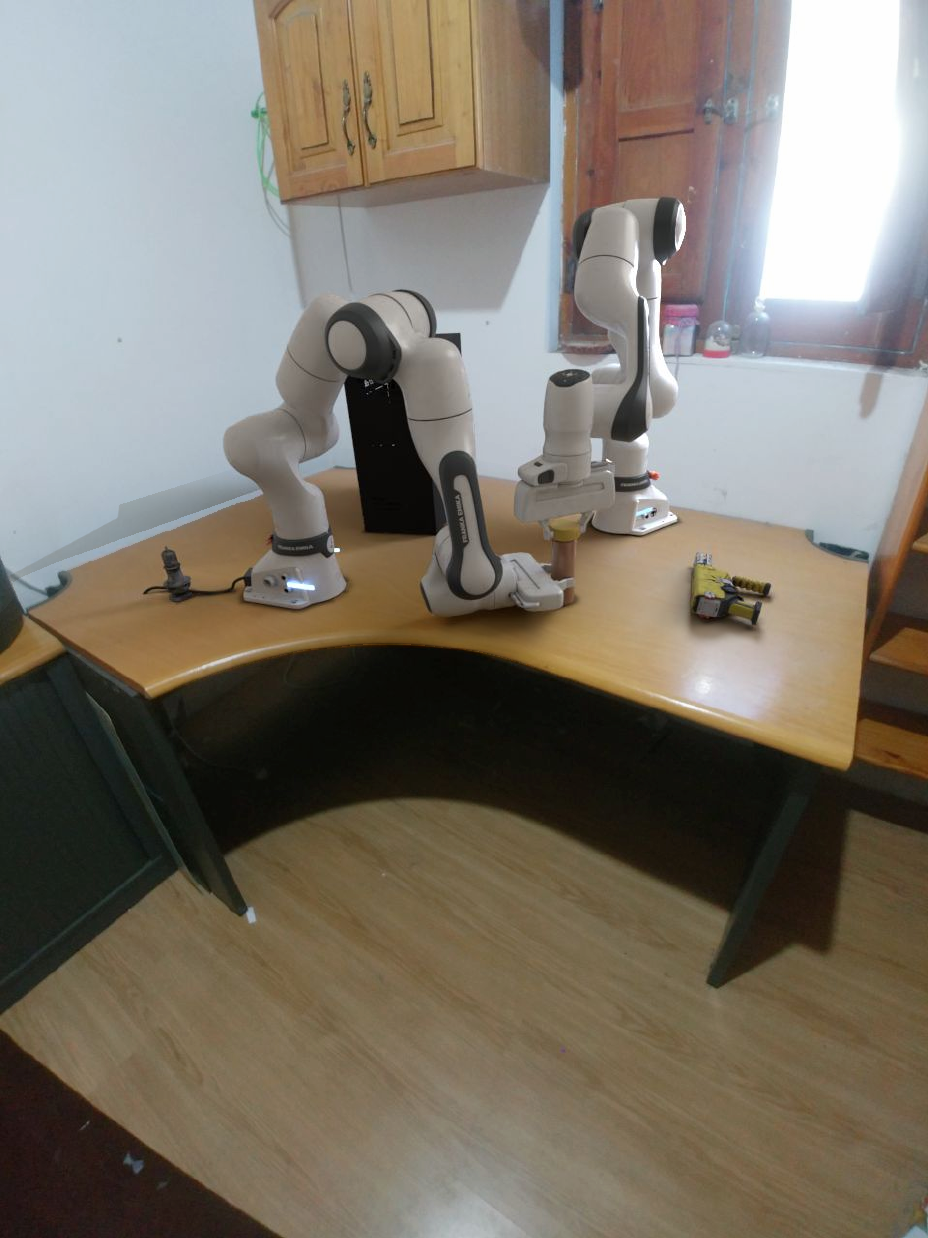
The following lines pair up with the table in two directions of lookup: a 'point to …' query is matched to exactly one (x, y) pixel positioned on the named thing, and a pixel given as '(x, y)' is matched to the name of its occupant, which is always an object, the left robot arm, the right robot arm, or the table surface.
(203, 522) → the table surface
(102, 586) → the table surface
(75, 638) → the table surface
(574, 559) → the jar
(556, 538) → the lid
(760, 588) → the toy gun
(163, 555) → the grey chess piece
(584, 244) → the right robot arm
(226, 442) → the left robot arm
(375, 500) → the black computer case
